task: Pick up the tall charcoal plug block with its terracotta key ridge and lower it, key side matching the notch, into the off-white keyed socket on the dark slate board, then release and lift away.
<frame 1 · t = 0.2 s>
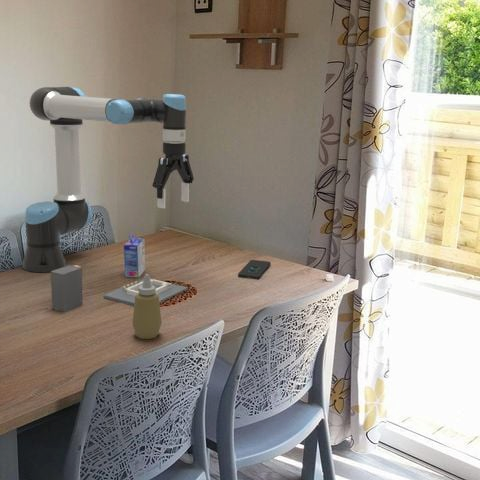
hand: (173, 204, 217), 28 cm above the table, tool pointing down, fingers open, 13 cm apart
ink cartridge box: (134, 274, 233), on the table
socket board: (146, 294, 212), on the table
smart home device: (254, 272, 241), on the table
squeeze bottle: (147, 336, 179), on the table
keyed plug: (67, 306, 199), on the table
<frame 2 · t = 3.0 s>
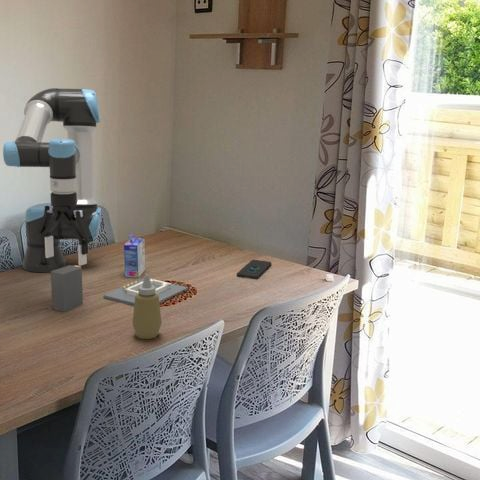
hand: (65, 260, 195), 15 cm above the table, tool pointing down, fingers open, 13 cm apart
nothing on the table moved.
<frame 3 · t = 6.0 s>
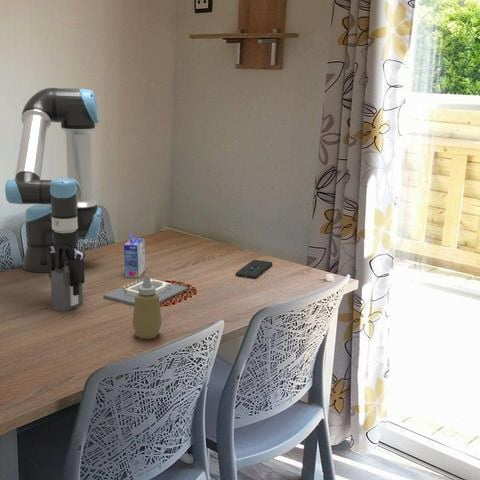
hand: (67, 302, 198), 1 cm above the table, tool pointing down, fingers closed on keyed plug, 5 cm apart
keyed plug: (67, 306, 199), on the table, touching gripper
everything else where it was.
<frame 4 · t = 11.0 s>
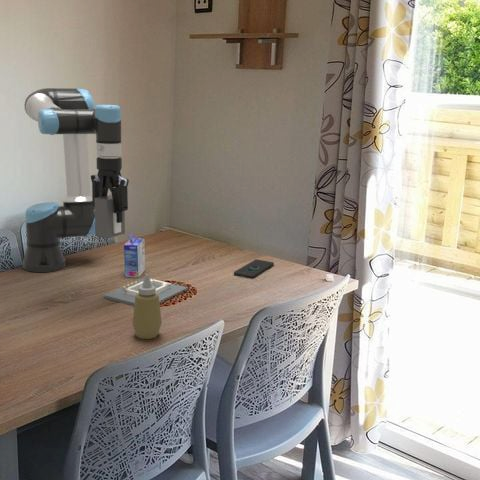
hand: (110, 230, 200), 23 cm above the table, tool pointing down, fingers closed on keyed plug, 5 cm apart
keyed plug: (110, 234, 200), point 22 cm above the table, touching gripper
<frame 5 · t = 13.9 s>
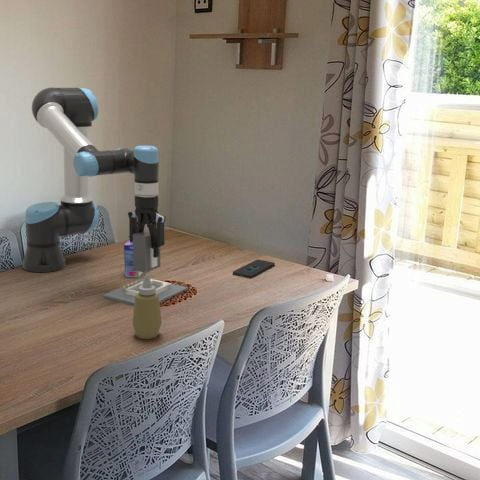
hand: (146, 264, 209), 10 cm above the table, tool pointing down, fingers closed on keyed plug, 5 cm apart
keyed plug: (146, 268, 210), point 9 cm above the table, touching gripper
when the fingers open (4 cm above the table, at t = 16.4 s): keyed plug drops 2 cm, resting on socket board.
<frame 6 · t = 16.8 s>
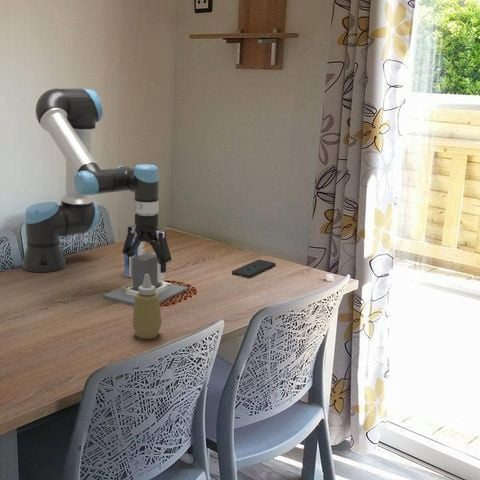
hand: (146, 278, 211), 5 cm above the table, tool pointing down, fingers open, 11 cm apart
keyed plug: (146, 291, 212), point 1 cm above the table, touching socket board
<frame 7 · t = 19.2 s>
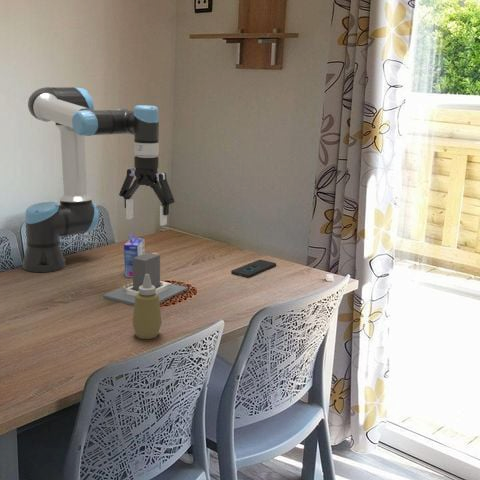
hand: (146, 221, 206), 25 cm above the table, tool pointing down, fingers open, 13 cm apart
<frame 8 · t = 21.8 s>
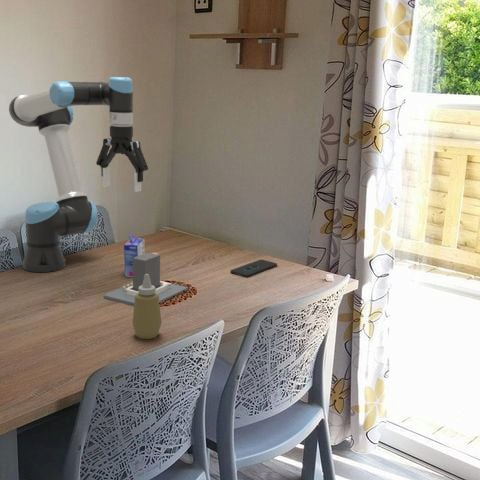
hand: (122, 189, 216), 33 cm above the table, tool pointing down, fingers open, 13 cm apart
at the end: keyed plug 0.0 cm off-centre on the socket board, point 1.0 cm above the socket board's base; keyed plug tilted 0°; the gripper is holding nothing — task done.
